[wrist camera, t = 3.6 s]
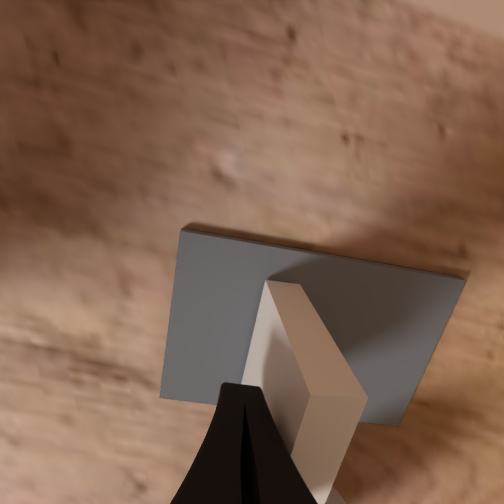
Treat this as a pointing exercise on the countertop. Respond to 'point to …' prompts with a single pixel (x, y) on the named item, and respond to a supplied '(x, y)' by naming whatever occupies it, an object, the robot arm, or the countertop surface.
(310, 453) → the tile
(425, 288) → the mat
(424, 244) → the countertop surface
